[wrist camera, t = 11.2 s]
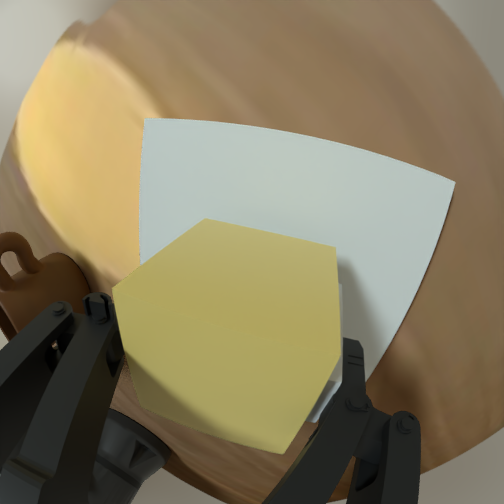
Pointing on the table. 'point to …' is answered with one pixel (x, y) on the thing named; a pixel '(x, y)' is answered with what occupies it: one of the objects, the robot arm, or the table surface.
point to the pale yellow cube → (232, 331)
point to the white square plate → (301, 208)
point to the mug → (36, 285)
